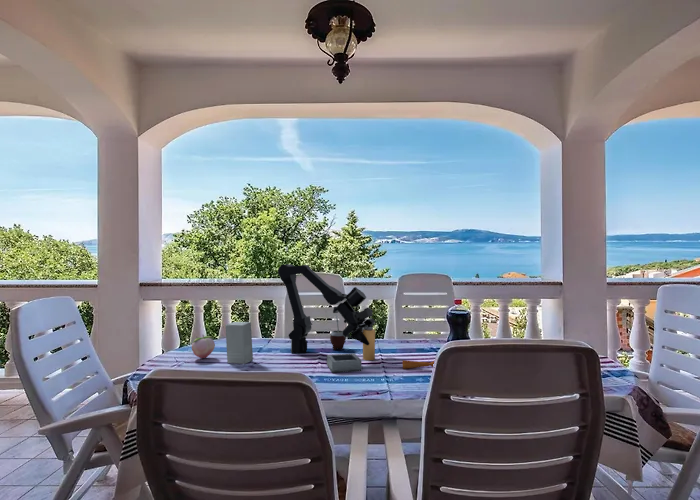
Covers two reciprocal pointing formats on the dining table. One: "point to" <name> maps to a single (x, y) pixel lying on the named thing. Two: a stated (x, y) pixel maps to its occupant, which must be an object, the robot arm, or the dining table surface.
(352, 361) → the gray square dish
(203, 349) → the decorative fruit
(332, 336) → the mate gourd
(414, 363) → the kendama
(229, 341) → the skincare box
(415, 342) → the dining table surface
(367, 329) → the tan cylinder
